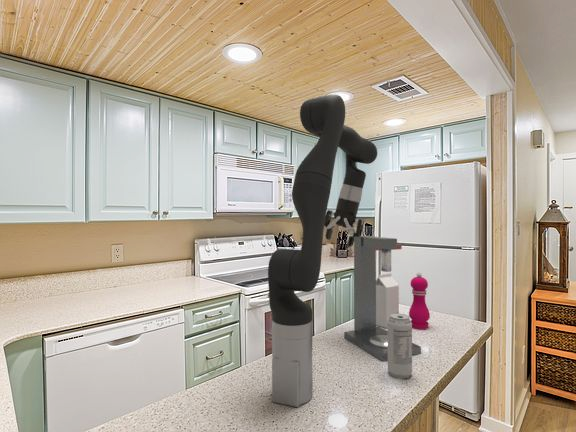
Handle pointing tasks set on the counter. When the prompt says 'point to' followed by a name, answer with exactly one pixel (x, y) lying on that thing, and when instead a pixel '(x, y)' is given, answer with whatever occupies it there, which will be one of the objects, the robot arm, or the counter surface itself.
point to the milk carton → (386, 299)
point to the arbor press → (370, 295)
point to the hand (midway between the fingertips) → (338, 242)
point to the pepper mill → (419, 303)
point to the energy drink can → (399, 345)
